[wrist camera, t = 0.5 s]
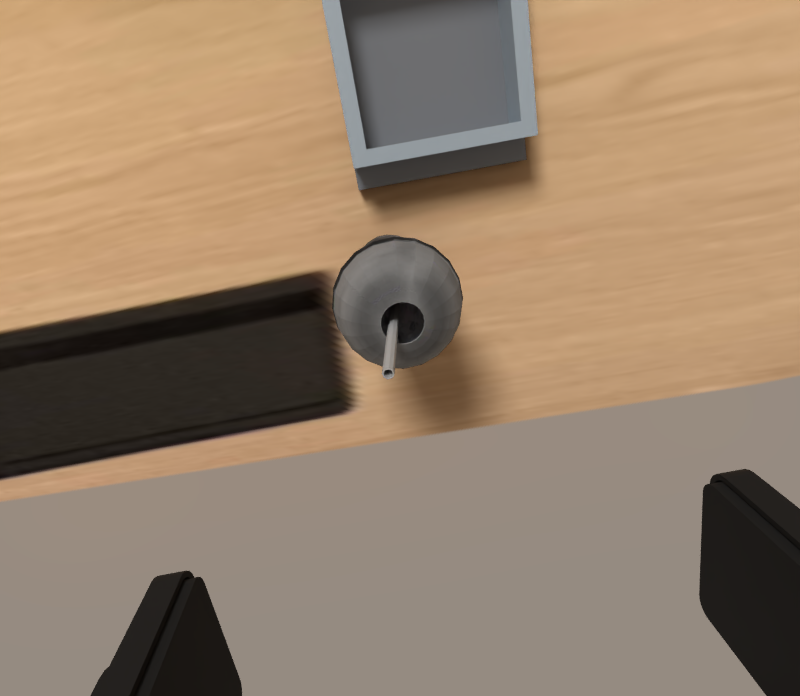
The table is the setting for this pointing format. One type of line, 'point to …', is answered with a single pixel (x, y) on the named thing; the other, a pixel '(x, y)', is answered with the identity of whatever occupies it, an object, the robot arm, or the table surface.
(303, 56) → the table surface
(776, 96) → the table surface
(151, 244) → the table surface
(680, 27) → the table surface
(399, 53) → the blue-grey tray
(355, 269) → the beverage cup
